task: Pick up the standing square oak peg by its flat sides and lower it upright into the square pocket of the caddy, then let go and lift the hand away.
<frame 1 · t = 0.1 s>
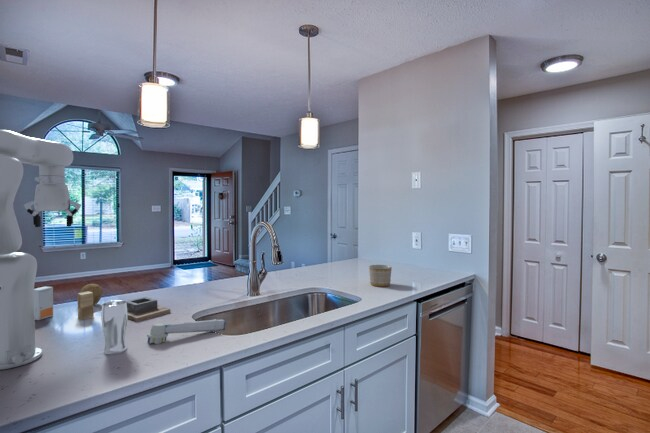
hand: (53, 226, 129), 37 cm above the worktop, tool pointing down, fingers open, 9 cm apart
natural sponge: (90, 306, 154), on the worktop
skincare box: (42, 318, 138), on the worktop
beer glass: (115, 351, 107), on the worktop
peg caddy: (141, 312, 144), on the worktop
planter: (380, 285, 195), on the worktop
white handle: (188, 337, 119), on the worktop
oak peg: (85, 317, 138), on the worktop
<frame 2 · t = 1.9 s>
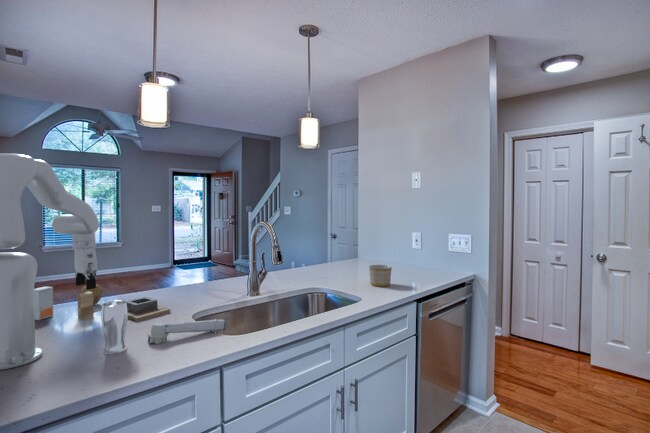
hand: (85, 286, 138), 12 cm above the worktop, tool pointing down, fingers open, 9 cm apart
nothing on the worktop moved.
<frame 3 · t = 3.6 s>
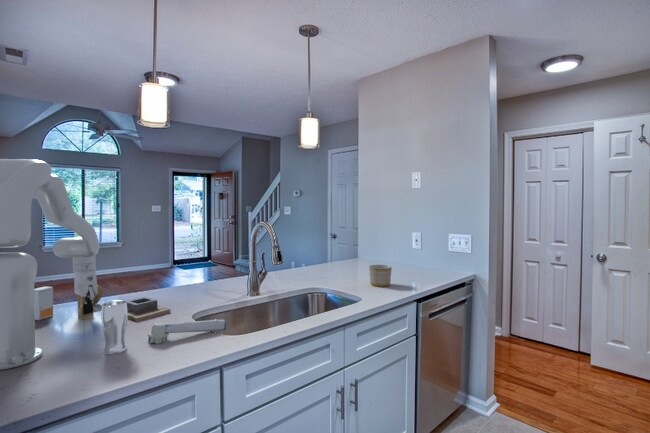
hand: (85, 311, 138), 2 cm above the worktop, tool pointing down, fingers closed on oak peg, 4 cm apart
oak peg: (85, 317, 138), on the worktop, touching gripper
everything else where it was.
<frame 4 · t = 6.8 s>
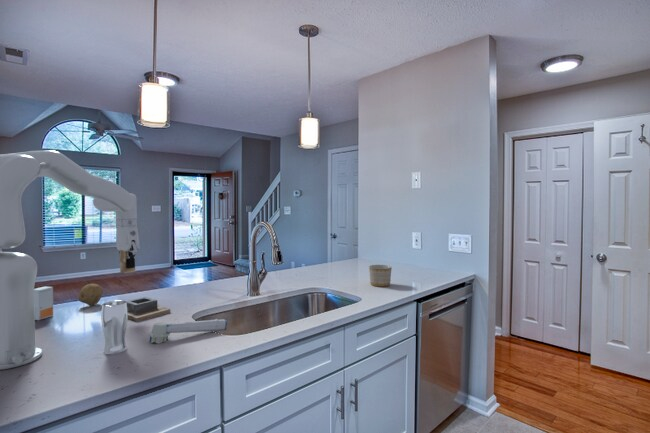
hand: (127, 266, 142), 20 cm above the worktop, tool pointing down, fingers closed on oak peg, 4 cm apart
oak peg: (127, 272, 142), point 17 cm above the worktop, touching gripper
everything else where it was.
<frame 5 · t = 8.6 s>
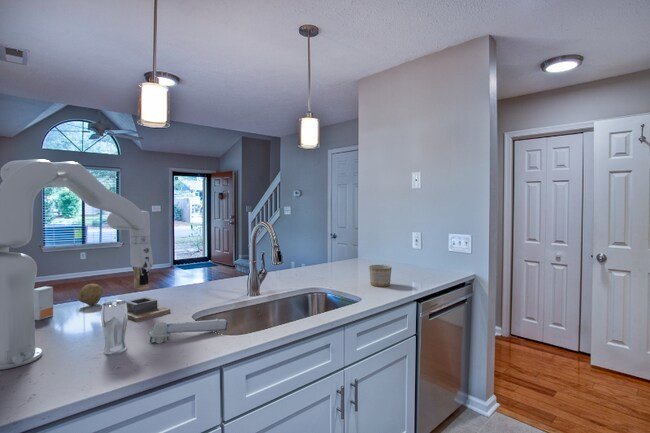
hand: (141, 283, 144), 12 cm above the worktop, tool pointing down, fingers closed on oak peg, 4 cm apart
oak peg: (141, 288, 144), point 10 cm above the worktop, touching gripper
everything else where it was.
when the fingers open (6 cm above the worktop, at t = 10.1 s): oak peg drops 2 cm, resting on peg caddy.
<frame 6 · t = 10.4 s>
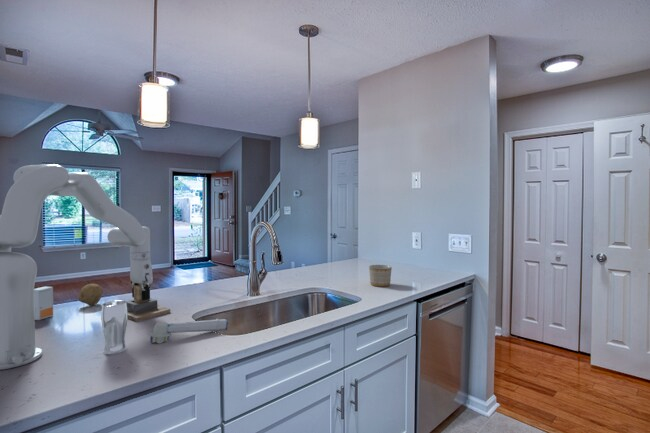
hand: (141, 297, 144), 6 cm above the worktop, tool pointing down, fingers open, 7 cm apart
oak peg: (141, 309, 144), point 1 cm above the worktop, touching peg caddy
everything else where it was.
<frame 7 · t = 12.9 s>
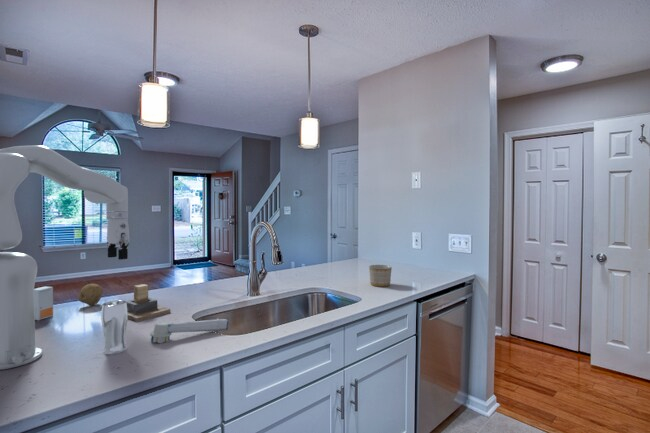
hand: (117, 258, 140), 24 cm above the worktop, tool pointing down, fingers open, 9 cm apart
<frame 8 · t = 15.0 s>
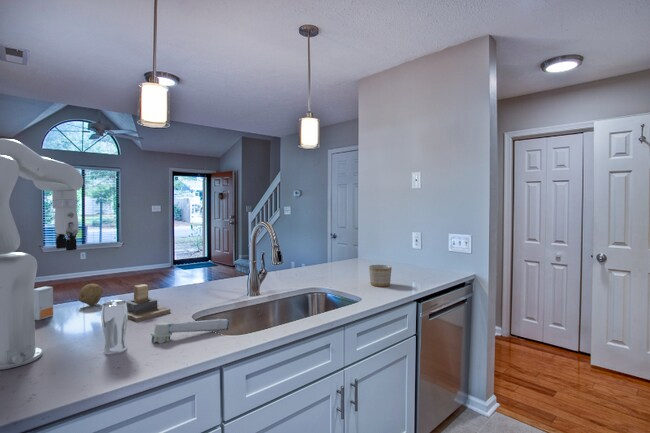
hand: (66, 249, 132), 28 cm above the worktop, tool pointing down, fingers open, 9 cm apart
at the end: oak peg 0.0 cm off-centre on the peg caddy, point 1.5 cm above the peg caddy's base; oak peg tilted 0°; the gripper is holding nothing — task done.
